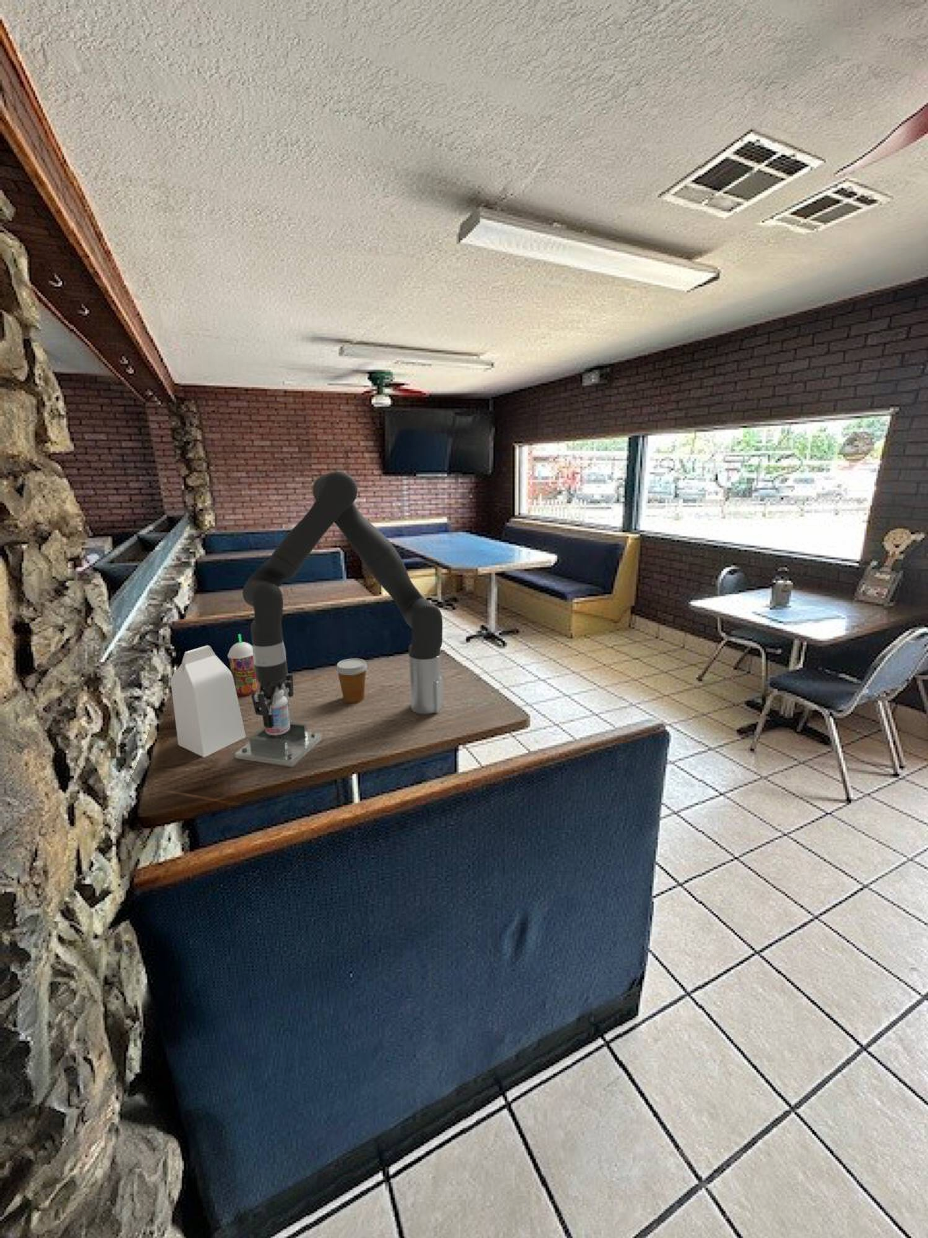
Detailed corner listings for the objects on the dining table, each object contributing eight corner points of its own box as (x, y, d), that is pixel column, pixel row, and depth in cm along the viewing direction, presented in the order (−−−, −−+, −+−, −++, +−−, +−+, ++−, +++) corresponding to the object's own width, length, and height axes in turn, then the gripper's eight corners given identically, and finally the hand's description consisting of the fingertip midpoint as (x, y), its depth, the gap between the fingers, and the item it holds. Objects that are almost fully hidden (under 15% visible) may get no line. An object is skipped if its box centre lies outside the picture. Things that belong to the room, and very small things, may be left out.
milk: (204, 757, 128) (187, 660, 121) (178, 745, 134) (161, 652, 127) (245, 736, 138) (233, 646, 131) (220, 726, 144) (206, 639, 136)
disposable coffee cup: (365, 705, 156) (363, 669, 152) (335, 705, 156) (331, 669, 153) (372, 692, 165) (369, 657, 162) (342, 692, 165) (340, 657, 162)
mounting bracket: (322, 738, 136) (320, 721, 135) (292, 766, 123) (290, 748, 122) (269, 731, 140) (267, 715, 139) (236, 758, 127) (233, 740, 126)
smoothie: (234, 700, 160) (225, 640, 155) (232, 690, 167) (224, 632, 162) (262, 695, 164) (255, 635, 158) (259, 685, 171) (252, 629, 165)
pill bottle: (260, 733, 129) (254, 693, 126) (276, 723, 134) (272, 683, 131) (279, 738, 127) (274, 696, 124) (295, 727, 132) (291, 687, 129)
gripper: (265, 671, 118) (273, 736, 122) (299, 651, 131) (305, 710, 136) (237, 668, 119) (246, 732, 124) (274, 648, 133) (281, 707, 137)
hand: (277, 721), depth 130 cm, fingers closed on pill bottle, 6 cm apart
